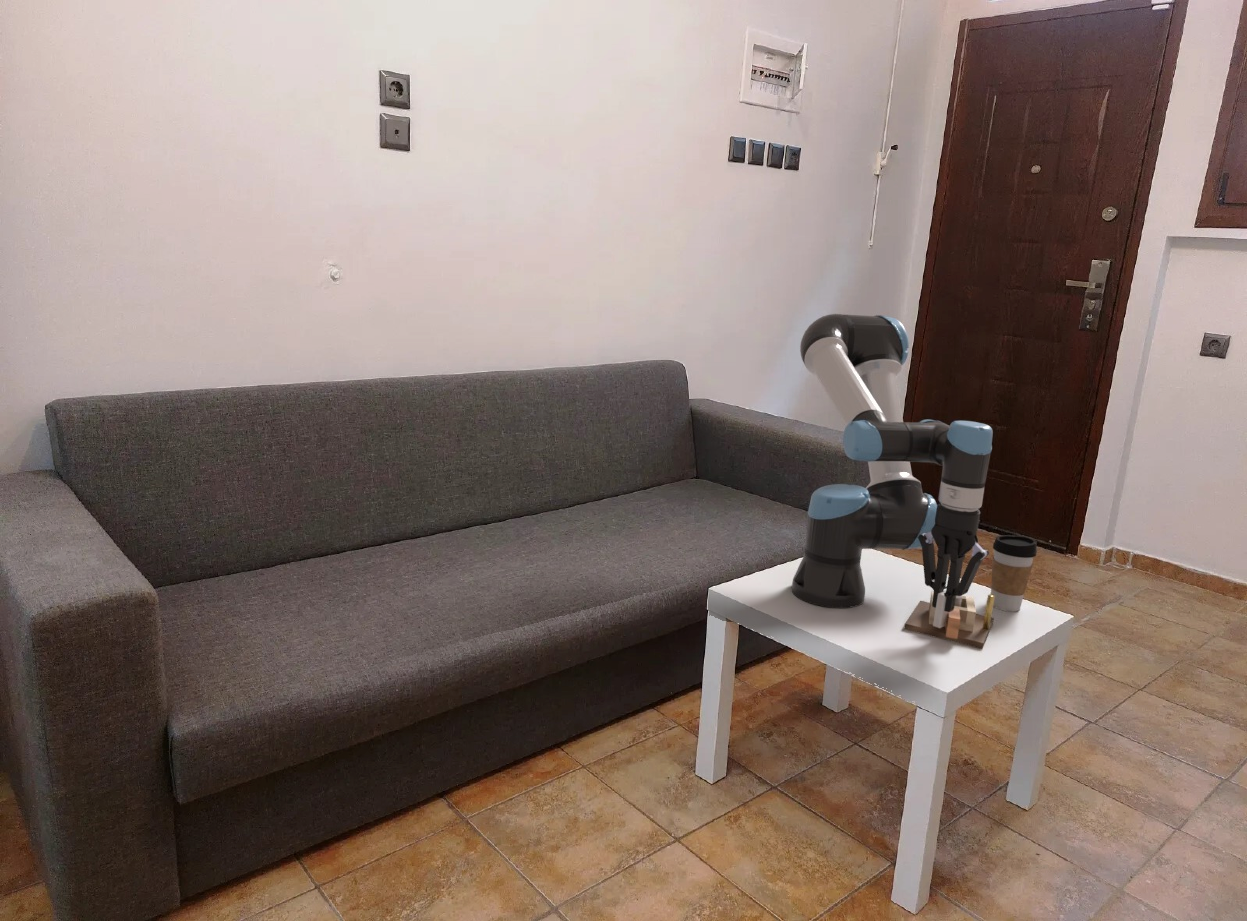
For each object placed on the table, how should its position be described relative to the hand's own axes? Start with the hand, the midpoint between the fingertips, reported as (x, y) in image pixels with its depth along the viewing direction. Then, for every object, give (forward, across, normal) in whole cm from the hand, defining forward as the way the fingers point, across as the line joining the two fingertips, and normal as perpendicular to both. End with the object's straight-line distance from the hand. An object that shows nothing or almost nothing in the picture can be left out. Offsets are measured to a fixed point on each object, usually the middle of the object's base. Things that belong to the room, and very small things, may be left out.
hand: (939, 625), depth 164 cm
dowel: (+2, +5, +10) cm, 11 cm away
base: (+3, -2, +8) cm, 9 cm away
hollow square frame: (+2, 0, +6) cm, 6 cm away
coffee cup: (+3, +1, +28) cm, 29 cm away
